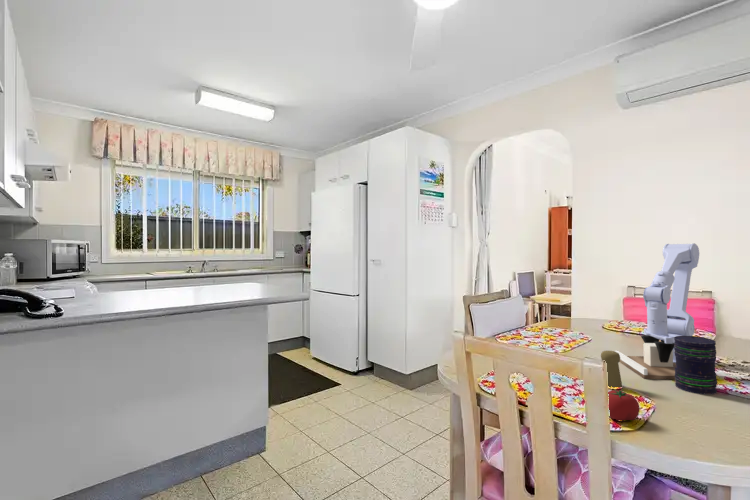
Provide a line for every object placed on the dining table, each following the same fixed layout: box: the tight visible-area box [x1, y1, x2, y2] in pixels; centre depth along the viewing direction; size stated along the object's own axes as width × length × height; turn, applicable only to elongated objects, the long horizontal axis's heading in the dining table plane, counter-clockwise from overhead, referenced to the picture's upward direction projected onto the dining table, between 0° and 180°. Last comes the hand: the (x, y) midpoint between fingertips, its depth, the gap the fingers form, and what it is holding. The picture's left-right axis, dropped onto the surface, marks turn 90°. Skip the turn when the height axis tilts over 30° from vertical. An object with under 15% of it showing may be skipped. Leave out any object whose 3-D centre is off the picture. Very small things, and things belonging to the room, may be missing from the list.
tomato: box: [608, 390, 641, 422], centre depth 98 cm, size 8×8×7 cm
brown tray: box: [614, 350, 676, 381], centre depth 134 cm, size 16×22×3 cm
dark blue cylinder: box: [674, 335, 718, 396], centre depth 115 cm, size 10×10×15 cm
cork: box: [600, 350, 623, 387], centre depth 119 cm, size 6×6×11 cm
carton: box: [642, 342, 673, 367], centre depth 135 cm, size 5×7×7 cm
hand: (658, 358), depth 135 cm, fingers open, 7 cm apart
